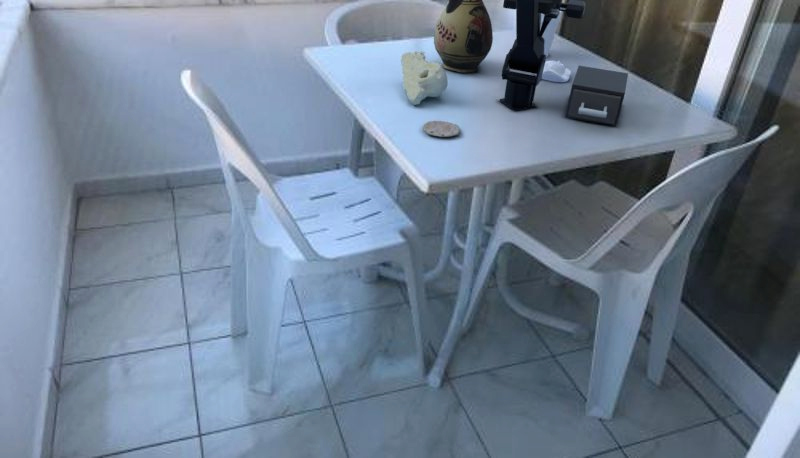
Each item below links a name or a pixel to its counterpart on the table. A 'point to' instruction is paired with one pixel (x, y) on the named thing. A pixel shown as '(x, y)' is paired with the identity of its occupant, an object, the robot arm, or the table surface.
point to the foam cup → (549, 32)
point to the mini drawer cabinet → (599, 85)
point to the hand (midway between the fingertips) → (538, 40)
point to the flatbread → (441, 128)
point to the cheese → (422, 77)
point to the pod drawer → (594, 106)
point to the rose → (555, 72)
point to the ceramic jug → (463, 35)
